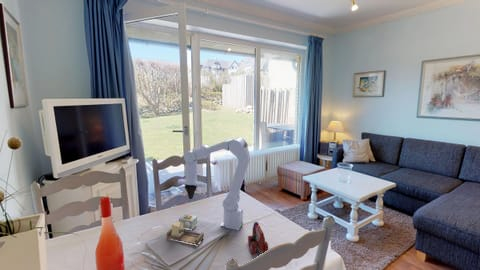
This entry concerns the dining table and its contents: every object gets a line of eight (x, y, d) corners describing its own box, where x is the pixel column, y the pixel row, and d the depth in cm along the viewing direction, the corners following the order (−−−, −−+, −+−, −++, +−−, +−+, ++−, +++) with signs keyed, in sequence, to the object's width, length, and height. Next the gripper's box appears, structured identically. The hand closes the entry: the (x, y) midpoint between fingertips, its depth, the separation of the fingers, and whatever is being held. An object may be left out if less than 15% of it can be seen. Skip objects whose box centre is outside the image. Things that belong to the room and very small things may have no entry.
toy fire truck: (261, 238, 106) (262, 217, 104) (269, 256, 94) (270, 233, 92) (246, 239, 104) (247, 218, 103) (252, 258, 92) (254, 234, 91)
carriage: (184, 234, 104) (184, 223, 103) (179, 238, 100) (179, 227, 99) (175, 231, 105) (175, 220, 104) (170, 236, 102) (170, 224, 101)
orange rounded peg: (191, 221, 113) (191, 215, 112) (188, 224, 110) (188, 218, 110) (187, 220, 113) (187, 214, 113) (184, 223, 111) (184, 217, 111)
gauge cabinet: (196, 225, 114) (196, 216, 113) (191, 231, 109) (191, 221, 108) (184, 222, 116) (184, 213, 115) (178, 228, 111) (178, 218, 110)
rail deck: (203, 238, 103) (203, 232, 103) (197, 246, 98) (197, 240, 97) (174, 231, 108) (174, 225, 107) (166, 239, 102) (166, 232, 101)
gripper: (207, 172, 120) (207, 197, 122) (183, 169, 124) (182, 193, 126) (201, 177, 113) (200, 203, 115) (175, 173, 117) (175, 198, 119)
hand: (191, 198), depth 120 cm, fingers closed
